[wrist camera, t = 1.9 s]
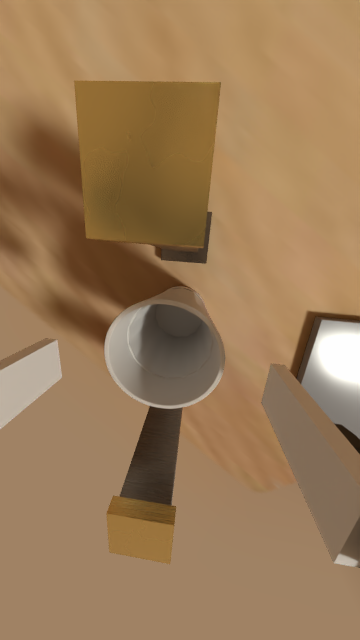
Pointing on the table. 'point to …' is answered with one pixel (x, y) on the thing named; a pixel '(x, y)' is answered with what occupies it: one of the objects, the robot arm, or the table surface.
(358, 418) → the pad
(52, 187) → the table surface
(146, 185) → the post
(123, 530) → the post
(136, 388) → the cup
